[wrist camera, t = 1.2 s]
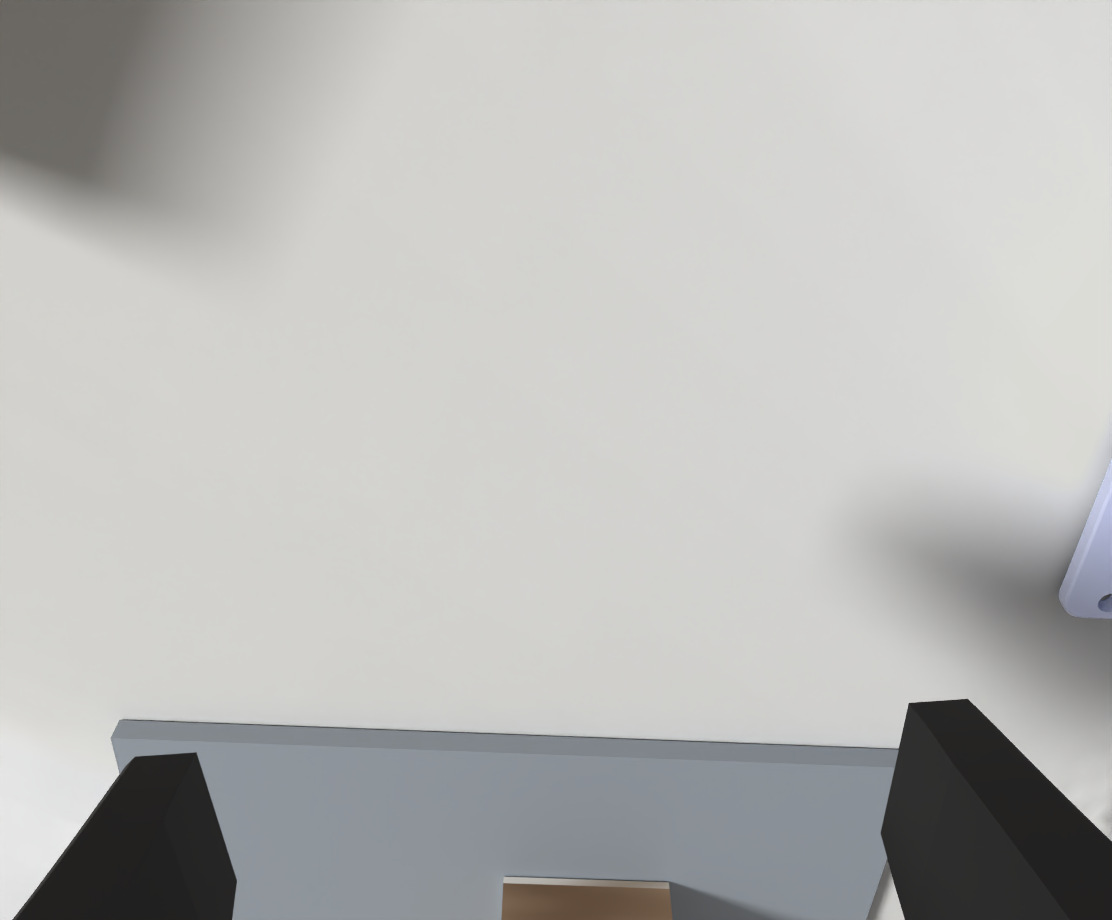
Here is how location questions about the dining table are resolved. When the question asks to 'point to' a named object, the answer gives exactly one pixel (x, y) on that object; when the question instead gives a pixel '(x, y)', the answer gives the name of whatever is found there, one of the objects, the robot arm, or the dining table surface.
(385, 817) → the light grey mat
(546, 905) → the walnut block
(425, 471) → the dining table surface
